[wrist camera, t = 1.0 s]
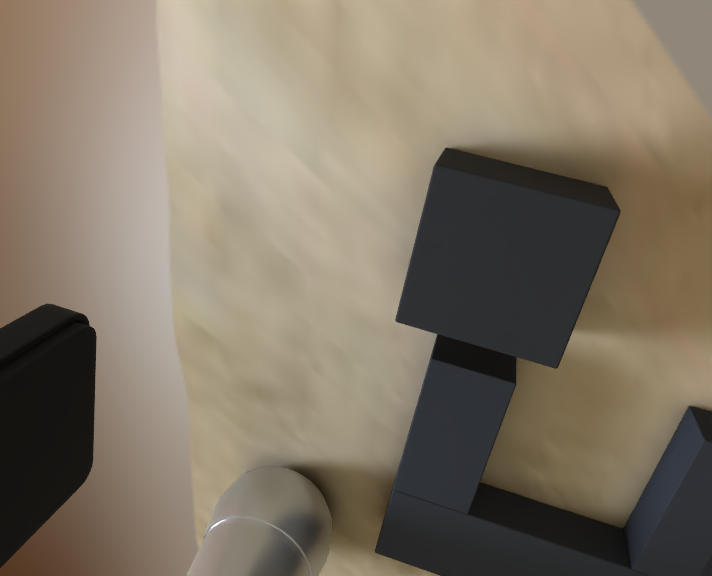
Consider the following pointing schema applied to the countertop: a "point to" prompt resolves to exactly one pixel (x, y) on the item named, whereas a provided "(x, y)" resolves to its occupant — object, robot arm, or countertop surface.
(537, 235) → the black pad
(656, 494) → the notched tile
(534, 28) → the countertop surface
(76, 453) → the robot arm
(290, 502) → the plastic bottle
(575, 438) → the countertop surface
